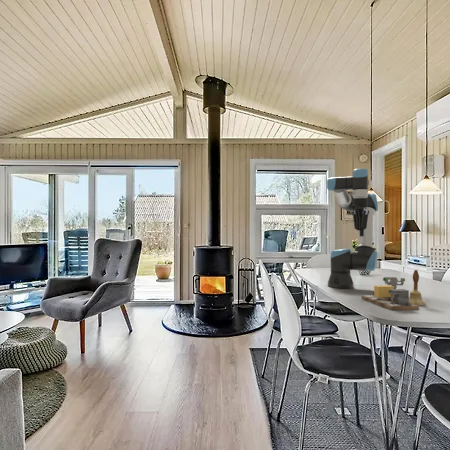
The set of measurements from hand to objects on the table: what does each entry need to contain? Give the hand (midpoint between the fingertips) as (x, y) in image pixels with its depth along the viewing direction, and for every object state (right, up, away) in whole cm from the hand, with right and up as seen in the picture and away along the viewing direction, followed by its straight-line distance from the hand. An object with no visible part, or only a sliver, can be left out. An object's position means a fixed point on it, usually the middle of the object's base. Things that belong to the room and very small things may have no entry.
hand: (360, 242), depth 173 cm
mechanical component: (+17, -29, -1) cm, 33 cm away
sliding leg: (+5, -26, -16) cm, 31 cm away
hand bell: (+19, -28, -17) cm, 38 cm away
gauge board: (+6, -28, -18) cm, 34 cm away
